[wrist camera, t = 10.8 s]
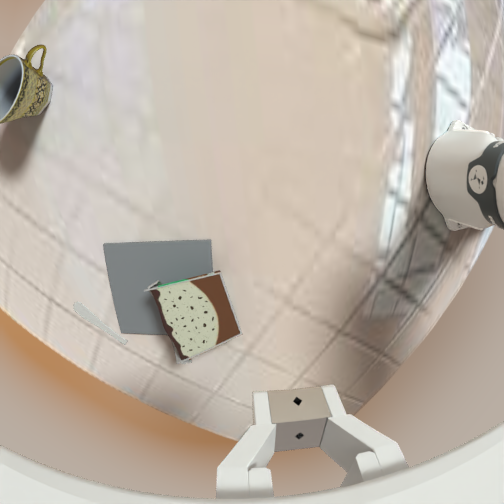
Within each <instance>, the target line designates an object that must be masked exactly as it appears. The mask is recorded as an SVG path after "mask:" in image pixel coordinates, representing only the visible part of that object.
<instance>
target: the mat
mask: <svg viewBox="0 0 504 504" xmlns="http://www.w3.org/2000/svg"><path fill="white" fill-rule="evenodd" d="M103 246H104V253H105V259H106V265H107V270H108V276H109V281H110V286H111V291H112V296H113V300H114V305H115V309H116V313H117V318H118V322H119V326H120V330H121V333H134V334H162V335H168V334H167V333H166V331H165V329H164V327H163V324H162V320H161V316H160V313H159V309H158V307H157V304H156V302H155V299H154V298H153V296H152V295H151V293H150V292H149V291H145V292H144V290H145V289H147V288H148V286H149V285H151V284H153V283H154V282H156V281H158V280H159V281H160V282H161V283H162V284H166V283H171V282H175V281H179V280H183V279H187V278H191V277H195V276H199V275H203V274H207V273H211V272H213V266H212V249H211V240H182V241H154V242H128V243H105V244H103Z"/></svg>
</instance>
